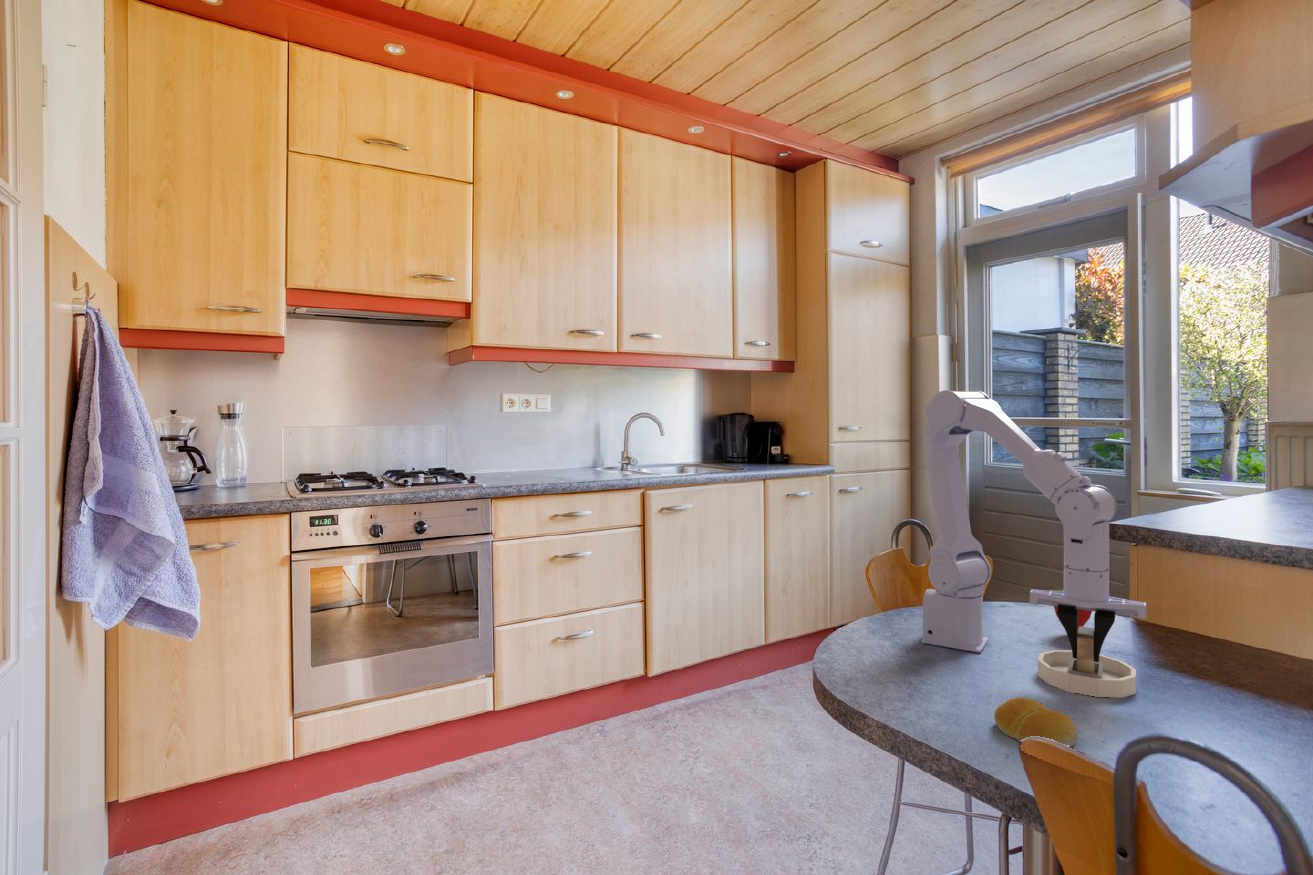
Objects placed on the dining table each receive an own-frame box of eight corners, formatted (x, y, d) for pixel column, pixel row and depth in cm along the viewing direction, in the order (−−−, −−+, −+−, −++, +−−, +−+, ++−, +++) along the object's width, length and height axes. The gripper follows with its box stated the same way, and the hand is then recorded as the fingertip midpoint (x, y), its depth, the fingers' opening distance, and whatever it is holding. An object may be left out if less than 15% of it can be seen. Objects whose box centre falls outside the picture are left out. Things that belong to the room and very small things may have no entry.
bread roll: (1045, 759, 79) (1045, 725, 78) (983, 726, 87) (983, 695, 87) (1095, 745, 81) (1095, 713, 81) (1030, 715, 90) (1030, 685, 90)
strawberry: (1097, 634, 122) (1097, 579, 121) (1086, 644, 116) (1086, 587, 116) (1060, 627, 126) (1060, 574, 126) (1047, 636, 121) (1048, 581, 120)
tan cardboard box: (1077, 680, 99) (1077, 633, 99) (1078, 671, 103) (1078, 626, 102) (1093, 683, 98) (1093, 635, 98) (1094, 674, 101) (1094, 628, 101)
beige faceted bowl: (1034, 685, 99) (1034, 668, 99) (1043, 660, 109) (1043, 645, 109) (1136, 704, 92) (1136, 686, 92) (1135, 676, 102) (1135, 659, 102)
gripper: (1027, 567, 101) (1027, 656, 101) (1146, 579, 93) (1146, 676, 93) (1032, 558, 107) (1032, 643, 107) (1145, 569, 98) (1145, 661, 99)
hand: (1085, 658), depth 100 cm, fingers closed on tan cardboard box, 2 cm apart
